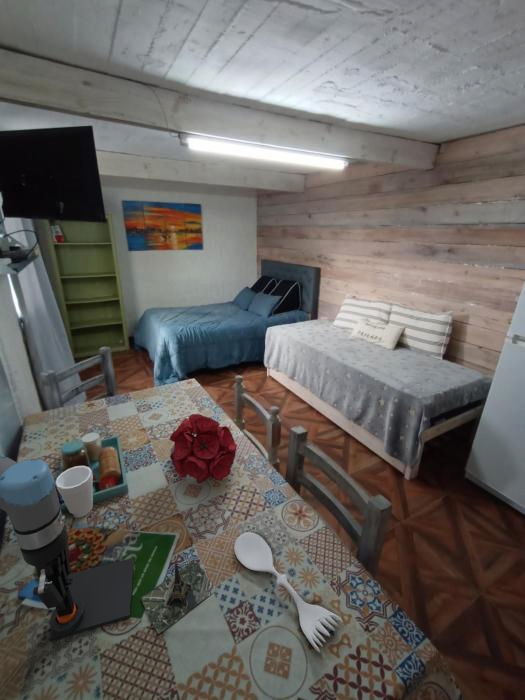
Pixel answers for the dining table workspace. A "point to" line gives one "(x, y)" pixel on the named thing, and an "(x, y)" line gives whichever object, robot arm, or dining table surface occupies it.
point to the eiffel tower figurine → (177, 595)
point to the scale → (97, 598)
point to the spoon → (259, 558)
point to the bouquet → (202, 449)
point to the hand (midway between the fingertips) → (66, 611)
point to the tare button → (67, 617)
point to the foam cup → (76, 490)
